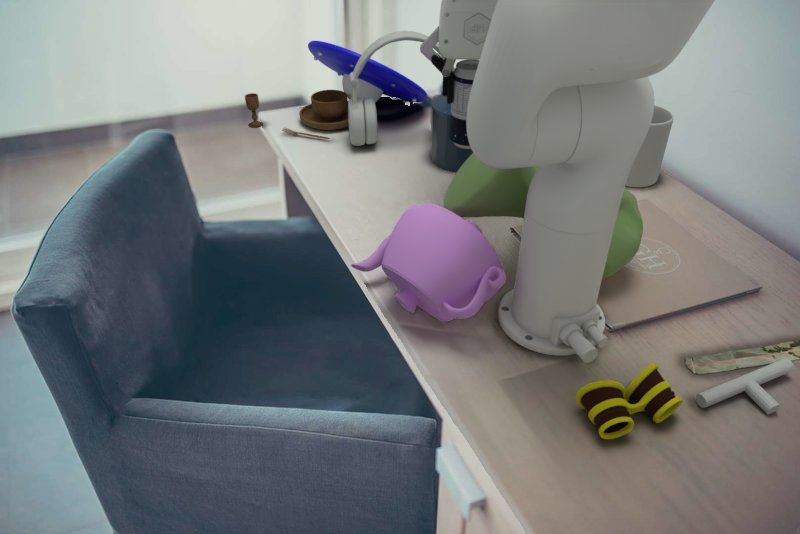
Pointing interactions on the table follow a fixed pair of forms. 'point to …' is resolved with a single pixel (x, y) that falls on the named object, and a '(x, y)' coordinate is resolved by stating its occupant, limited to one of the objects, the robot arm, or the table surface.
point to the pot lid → (441, 106)
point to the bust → (506, 196)
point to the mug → (651, 150)
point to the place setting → (313, 111)
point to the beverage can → (461, 101)
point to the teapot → (438, 263)
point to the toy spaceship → (366, 74)
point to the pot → (446, 145)
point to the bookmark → (744, 358)
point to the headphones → (365, 110)
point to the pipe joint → (748, 386)
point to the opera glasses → (613, 409)
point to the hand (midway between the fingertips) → (470, 99)
